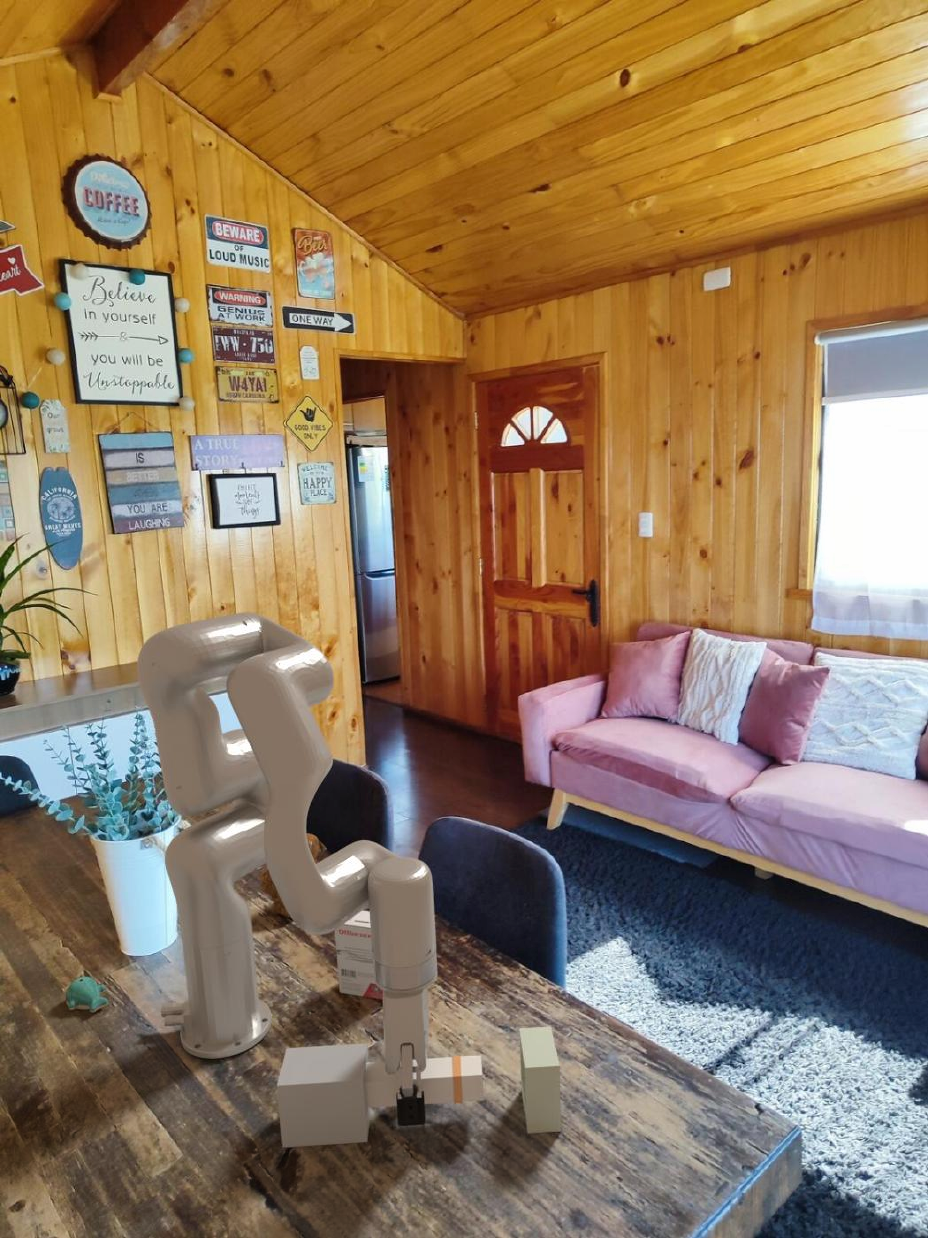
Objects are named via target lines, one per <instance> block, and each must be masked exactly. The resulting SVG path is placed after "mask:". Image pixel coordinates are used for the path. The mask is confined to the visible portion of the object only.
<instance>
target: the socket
mask: <svg viewBox="0 0 928 1238" xmlns="http://www.w3.org/2000/svg"><path fill="white" fill-rule="evenodd" d="M518 1032H519V1034H518V1035H519V1054H520V1061H519V1062H520V1081H521V1082H520V1083H521V1088H520V1089H521V1096H522V1103H523V1111H524V1117H525V1118H524V1119H525V1125H526V1132H527V1134H538V1133H540V1134H542V1133H555V1132H556V1133H557V1132H558V1133H559V1132H562V1114H561V1112H562V1111H561V1110H562V1109H561V1108H562V1107H561V1078H560V1076H561V1075H560V1073H561V1072H560V1062H559V1056H558V1054H557V1048H556V1044H555V1038H554V1035H553V1034H554V1033H553V1029H552V1026H538V1027H521V1028H519V1029H518Z"/></svg>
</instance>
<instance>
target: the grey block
mask: <svg viewBox="0 0 928 1238" xmlns="http://www.w3.org/2000/svg"><path fill="white" fill-rule="evenodd" d="M366 1062H370V1061H369V1048H368V1043H367V1042H365V1043H352V1044H335V1045H332V1044H331V1045H318V1046H301V1047H299V1046H298V1047H287V1048H286V1049H285V1053H284V1057H283V1060H282V1063H281V1064H282V1065H281V1068H280V1073H279V1076H278V1080H277V1083H276V1093H277V1102H278V1113H279V1124H280V1135H281V1137H280V1138H281V1145H282V1146H281V1147H282V1148H296V1147H297V1148H298V1147H299V1148H300V1147H311V1146H325V1145H326V1146H327V1145H341V1144H343V1145H344V1144H345V1145H346V1144H354V1143H356V1144H357V1143H358V1144H359V1143H368V1139H369V1130H370V1119H371V1110H372V1107H371V1108H366V1102H365V1088H364V1078H365V1069H366Z"/></svg>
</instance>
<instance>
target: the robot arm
mask: <svg viewBox="0 0 928 1238" xmlns="http://www.w3.org/2000/svg"><path fill="white" fill-rule="evenodd" d="M333 670H334V669H333V667H332V666H331V663H330V661H329V659H328V658H327V657H326V656H325V654H324V653H323V652H322V651H321V650H320V649H319V648H318V647H317V645H315V644H313V643H312V642H310V641H309V640H307V639H306V638H304V637H303V636H301V635H299V634H297V633H295V632H293V631H292V630H290V629H288V628H286V627H284V626H283V625H281V624H279V623H277V622H275V621H273V620H271V619H270V618H268V617H266V616H263V615H261V614H259V613H258V614H257V613H254V612H245V611H244V612H238V613H232V614H227V615H221V616H217V617H211V618H205V619H201V620H200V619H199V620H195V621H191V622H186V623H185V622H184V623H182V624H178V625H174V626H171V627H169V628H166V629H163V630H161V631H158V632H157V633H155V634H153V635H151V636H150V637H149V638H148V639H146V641H145V642H144V643H143V645H142V647H141V648H140V650H139V653H138V656H137V663H136V672H137V680H138V684H139V688H140V692H141V694H142V696H143V699H144V700H145V704H146V706H147V708H148V710H149V712H150V716H151V718H152V723H153V727H154V732H155V740H156V745H157V752H158V757H159V758H158V759H159V763H160V768H161V775H162V781H163V786H164V791H165V795H166V798H167V802H168V804H169V805H170V807H171V809H172V810H173V811H174V812H175V813H176V814H177V815H179V816H182V817H187V818H188V817H196V816H200V815H204V814H206V813H208V812H209V813H210V812H212V811H214V810H217V809H219V808H221V807H223V806H226V805H228V804H230V803H232V806H231V807H228V808H227V809H225V810H223V811H221V812H218V813H216V814H213V815H211V816H208V817H206V818H205V819H202V820H200V821H198V822H196V823H193V824H192V825H190V826H188V827H186V828H184V829H183V830H181V831H180V832H179V833H177V834H176V835H175V836H174V837H173V838H172V840H171V841H170V842H169V844H168V845H167V847H166V850H165V853H164V866H165V869H166V874H167V877H168V879H169V883H170V886H171V888H172V892H173V895H174V899H175V903H176V907H177V908H176V909H177V913H178V920H179V928H180V929H179V930H180V938H181V943H182V945H181V946H182V951H183V961H184V962H183V963H184V971H185V981H186V988H187V990H186V991H187V997H188V999H184V1001H183V1002H163V1003H162V1005H161V1009H160V1015H161V1018H164V1020H163V1021H164V1027H175V1026H180V1027H181V1030H180V1043H181V1046H182V1047H183V1049H184V1051H186V1052H187V1053H188V1054H189V1055H192V1056H194V1057H198V1058H200V1059H201V1058H202V1059H209V1060H210V1059H211V1060H212V1059H223V1058H228V1057H232V1056H235V1055H238V1054H240V1053H243V1052H245V1051H248V1050H249V1049H251V1048H253V1047H254V1046H255V1045H257V1044H258V1043H260V1041H261V1040H263V1038H265V1037H266V1035H267V1033H268V1032H269V1031H270V1028H271V1026H272V1020H273V1019H272V1012H271V1009H270V1007H269V1005H268V1004H266V1002H264V1001H263V1000H261V999H259V989H258V978H257V977H258V976H257V968H256V967H257V966H256V957H255V955H256V954H255V945H254V935H253V925H252V915H251V911H250V910H251V909H250V907H249V905H248V902H247V900H246V898H244V897H243V896H242V895H241V894H239V893H238V892H237V890H236V889H235V883H236V882H237V881H238V880H240V879H241V878H243V877H245V876H246V875H247V874H249V873H251V872H253V871H254V870H257V869H258V868H260V867H262V866H264V865H266V867H267V868H268V870H269V873H270V876H271V878H272V880H273V882H274V885H275V887H276V889H277V891H278V893H279V896H280V898H281V900H282V902H283V904H284V906H285V908H286V910H287V911H288V913H289V915H290V916H291V919H292V921H293V922H294V924H296V925H297V926H298V928H300V929H301V930H302V931H304V932H306V933H307V934H310V935H314V936H322V935H326V934H330V933H331V932H335V931H334V930H335V929H337V928H338V927H340V926H341V925H343V924H344V923H346V922H347V921H348V920H350V919H351V918H353V917H354V916H355V915H357V914H358V913H360V912H361V911H366V910H367V909H369V912H370V926H371V941H372V956H373V971H374V981H375V984H376V985H377V986H378V987H379V988H380V989H381V990H383V1000H382V1022H383V1026H382V1027H383V1044H384V1045H383V1046H384V1061H385V1071H386V1073H387V1074H395V1073H396V1070H397V1093H396V1102H397V1106H396V1115H397V1124H398V1127H411V1126H424V1125H425V1124H426V1122H427V1121H426V1120H427V1118H426V1116H427V1115H426V1104H425V1099H424V1091H422V1085H421V1072H423V1071H424V1070H425V1069H426V1064H427V1059H428V1050H429V1049H428V1048H429V1035H430V1034H429V1030H430V1028H429V1027H430V1025H429V1024H430V1008H429V1006H430V1002H429V1001H430V1000H429V999H430V998H429V987H430V986H432V985H433V984H434V983H435V981H436V980H437V977H438V959H437V943H436V942H437V941H436V940H437V939H436V937H437V936H436V923H435V922H436V919H435V918H436V917H435V903H434V899H435V898H434V885H433V875H432V872H431V869H430V868H429V866H428V865H427V864H426V863H425V862H424V861H422V860H421V859H417V858H414V857H410V856H409V857H407V856H405V857H404V856H399V855H398V854H396V853H394V852H392V851H391V850H389V849H387V848H386V847H384V846H382V845H381V844H379V843H377V842H374V841H371V840H367V839H366V840H365V839H362V840H357V841H354V842H351V843H350V844H348V845H345V847H343V848H341V849H340V850H338V851H337V852H334V853H333V854H331V855H329V856H327V857H325V858H326V859H324V858H323V859H324V860H323V859H321V862H320V861H318V862H319V863H317V864H316V863H315V861H314V859H313V857H312V854H311V851H310V848H309V845H308V841H307V835H306V833H307V818H308V812H309V809H310V806H311V802H312V801H313V799H314V796H315V794H316V793H317V791H318V789H319V787H320V786H321V783H322V782H323V781H324V779H325V778H326V776H327V775H328V773H330V770H331V769H332V766H333V763H334V757H333V753H332V751H331V750H330V747H329V745H328V743H327V741H326V739H325V737H324V735H323V732H322V731H321V729H320V726H319V725H318V722H317V720H316V718H315V715H314V714H313V711H312V709H311V707H314V706H315V705H318V704H320V703H322V702H324V701H326V699H328V698H329V697H330V695H331V693H332V691H333V689H334V685H335V676H334V671H333ZM222 681H223V682H224V681H226V685H225V686H226V692H227V697H228V700H229V702H230V705H231V707H232V709H233V711H234V713H235V715H236V718H237V720H238V722H239V725H240V727H241V728H237V729H232V730H230V731H227V732H224V733H223V730H222V725H221V717H220V712H219V710H218V707H217V705H216V704H215V702H214V700H213V699H212V698H211V697H210V695H209V694H208V693H207V692H206V691H205V690H204V689H203V688H202V687H205V686H207V685H213V684H216V683H219V682H222ZM267 868H266V869H267ZM413 1060H416V1062H417V1066H414V1067H413ZM401 1061H402V1067H401ZM415 1072H416V1080H417V1086H416V1084H413V1073H415Z"/></svg>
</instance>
